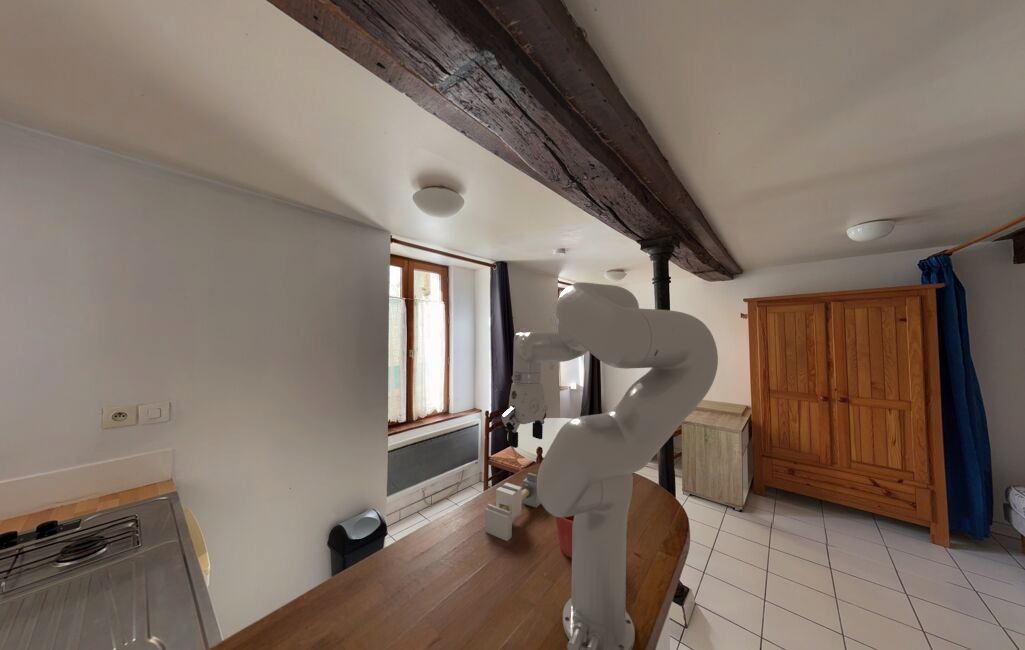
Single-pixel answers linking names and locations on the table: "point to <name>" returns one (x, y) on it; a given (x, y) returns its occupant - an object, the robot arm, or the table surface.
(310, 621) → the table surface
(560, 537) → the flower pot
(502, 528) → the rail
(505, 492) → the grooved sliding block
